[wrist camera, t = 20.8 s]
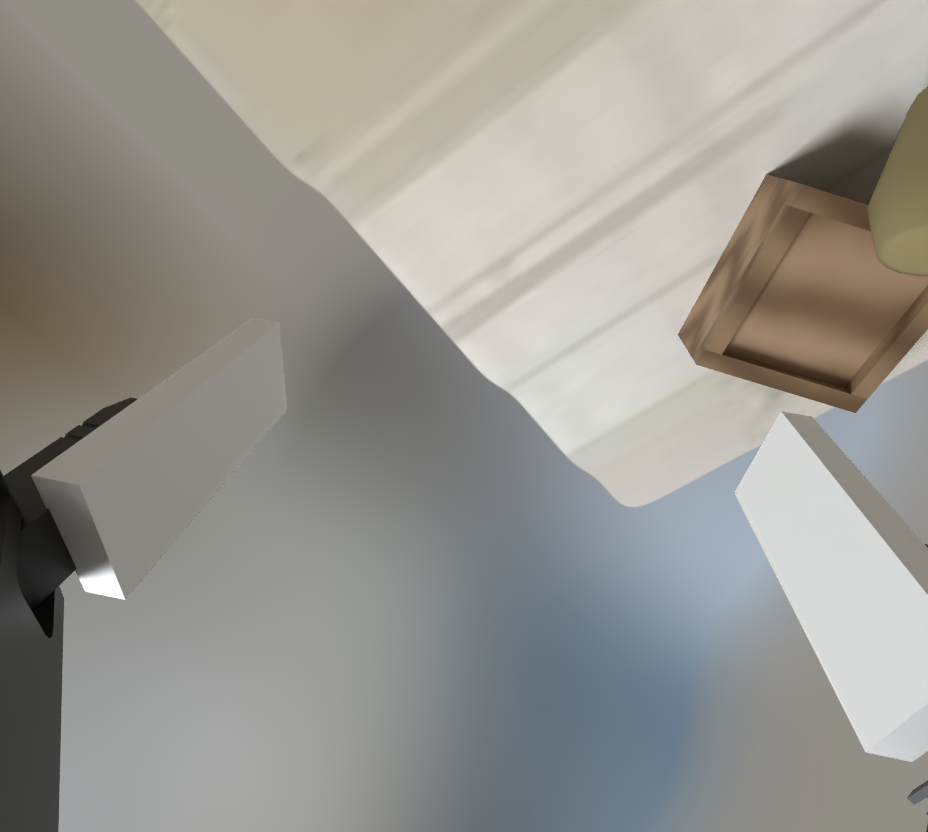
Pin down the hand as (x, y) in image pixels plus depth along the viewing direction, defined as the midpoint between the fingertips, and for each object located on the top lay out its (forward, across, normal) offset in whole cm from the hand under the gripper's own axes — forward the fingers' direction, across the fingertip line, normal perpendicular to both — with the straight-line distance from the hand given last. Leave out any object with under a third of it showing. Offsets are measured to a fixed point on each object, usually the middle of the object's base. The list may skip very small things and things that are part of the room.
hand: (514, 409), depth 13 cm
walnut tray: (+37, +25, -4) cm, 45 cm away
